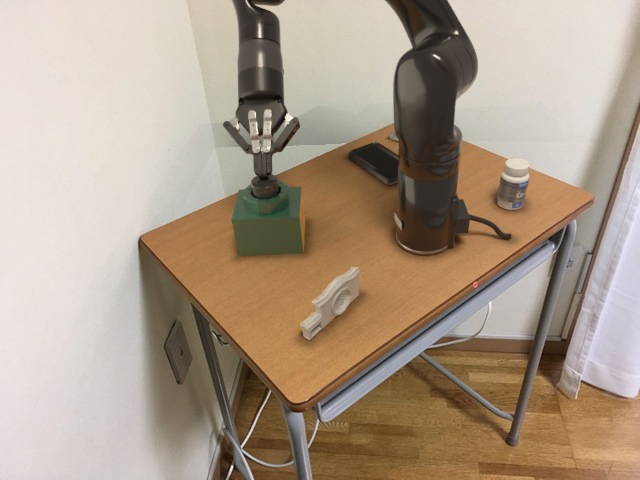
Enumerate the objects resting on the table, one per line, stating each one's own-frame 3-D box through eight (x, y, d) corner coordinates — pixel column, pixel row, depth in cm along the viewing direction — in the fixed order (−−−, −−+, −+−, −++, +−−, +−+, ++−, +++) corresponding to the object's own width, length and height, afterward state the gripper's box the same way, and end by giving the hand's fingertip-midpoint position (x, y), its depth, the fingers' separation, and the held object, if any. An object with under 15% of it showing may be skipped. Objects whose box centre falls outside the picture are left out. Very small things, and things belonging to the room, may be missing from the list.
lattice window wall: (309, 343, 72) (306, 314, 68) (300, 337, 73) (296, 308, 69) (362, 294, 79) (361, 265, 75) (352, 289, 80) (351, 261, 76)
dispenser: (305, 221, 95) (300, 174, 88) (303, 253, 88) (298, 204, 81) (245, 224, 95) (236, 178, 89) (239, 256, 88) (228, 208, 82)
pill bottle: (517, 213, 92) (526, 173, 87) (492, 206, 94) (498, 165, 89) (527, 201, 95) (536, 160, 90) (502, 193, 97) (509, 154, 92)
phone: (376, 141, 114) (420, 169, 104) (376, 145, 115) (420, 173, 105) (346, 152, 111) (388, 181, 101) (346, 156, 112) (388, 186, 102)
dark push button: (280, 185, 87) (278, 172, 86) (278, 200, 84) (276, 187, 82) (254, 187, 87) (252, 174, 86) (251, 201, 84) (249, 188, 82)
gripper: (215, 67, 82) (217, 174, 80) (298, 62, 82) (302, 169, 80) (226, 86, 90) (228, 184, 88) (302, 82, 89) (306, 180, 87)
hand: (263, 177), depth 84 cm, fingers closed
